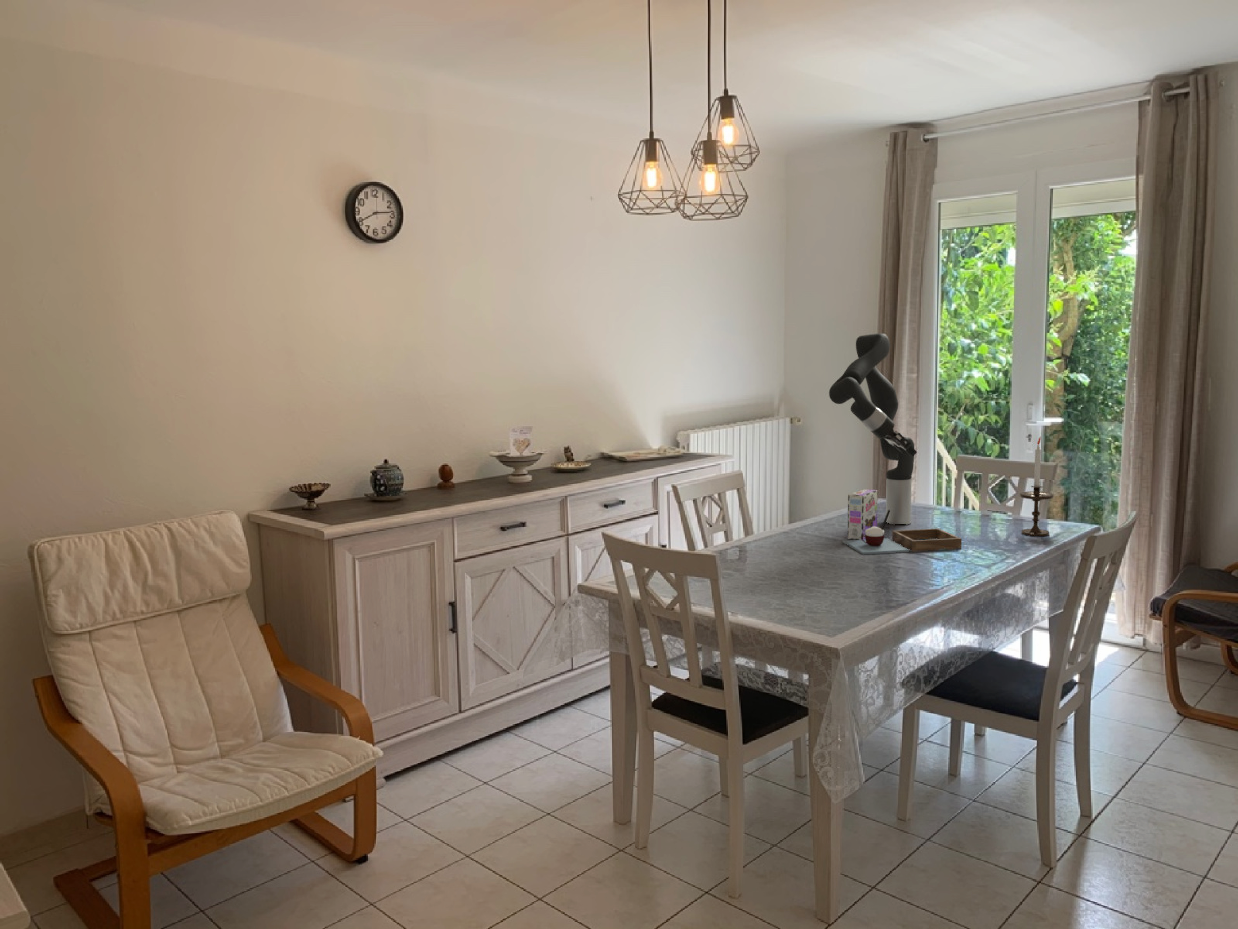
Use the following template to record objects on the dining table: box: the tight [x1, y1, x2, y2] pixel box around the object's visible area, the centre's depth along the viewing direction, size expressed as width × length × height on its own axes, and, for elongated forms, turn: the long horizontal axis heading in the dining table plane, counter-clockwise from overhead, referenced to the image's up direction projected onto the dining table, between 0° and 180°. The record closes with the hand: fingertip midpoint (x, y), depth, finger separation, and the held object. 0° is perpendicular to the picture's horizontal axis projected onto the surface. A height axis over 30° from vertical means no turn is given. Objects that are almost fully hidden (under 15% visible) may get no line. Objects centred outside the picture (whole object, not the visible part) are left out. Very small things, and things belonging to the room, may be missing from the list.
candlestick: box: [1019, 436, 1054, 537], centre depth 328 cm, size 11×11×35 cm
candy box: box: [847, 488, 878, 540], centre depth 332 cm, size 14×6×16 cm, turn 143°
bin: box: [891, 527, 963, 552], centre depth 318 cm, size 17×17×4 cm
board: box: [843, 537, 910, 556], centre depth 317 cm, size 18×16×1 cm
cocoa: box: [861, 510, 890, 546], centre depth 316 cm, size 10×6×12 cm, turn 62°
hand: (909, 452), depth 322 cm, fingers open, 8 cm apart
